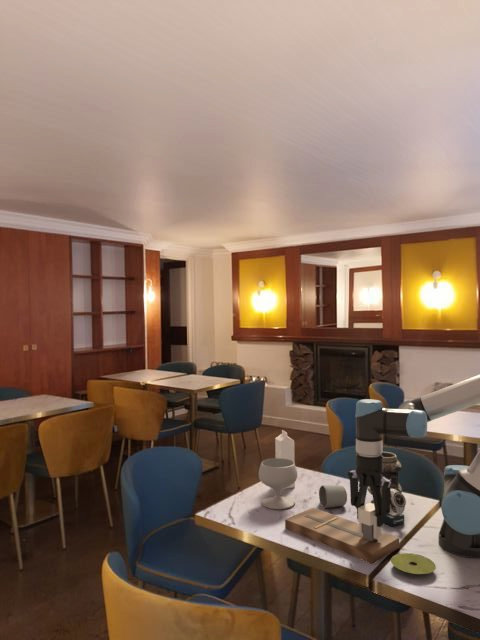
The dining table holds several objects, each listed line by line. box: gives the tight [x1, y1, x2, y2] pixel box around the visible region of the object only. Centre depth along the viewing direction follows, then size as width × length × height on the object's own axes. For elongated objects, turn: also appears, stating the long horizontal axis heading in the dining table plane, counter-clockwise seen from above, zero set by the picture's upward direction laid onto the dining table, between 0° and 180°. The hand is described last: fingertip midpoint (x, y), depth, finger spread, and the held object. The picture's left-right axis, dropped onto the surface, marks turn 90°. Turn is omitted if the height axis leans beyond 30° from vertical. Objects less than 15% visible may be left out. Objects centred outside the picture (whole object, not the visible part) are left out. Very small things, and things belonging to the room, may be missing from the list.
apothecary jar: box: [367, 451, 403, 510], centre depth 178 cm, size 12×12×18 cm
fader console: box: [284, 507, 400, 565], centre depth 151 cm, size 32×14×3 cm, turn 43°
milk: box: [274, 429, 296, 490], centre depth 198 cm, size 6×6×22 cm
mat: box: [390, 552, 436, 575], centre depth 131 cm, size 11×11×2 cm
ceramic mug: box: [318, 484, 348, 509], centre depth 178 cm, size 11×8×8 cm
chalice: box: [258, 457, 298, 510], centre depth 179 cm, size 14×14×15 cm
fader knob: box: [357, 502, 376, 541], centre depth 143 cm, size 4×6×9 cm, turn 133°
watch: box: [383, 489, 407, 529], centre depth 161 cm, size 6×8×11 cm
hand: (370, 534), depth 143 cm, fingers closed on fader knob, 4 cm apart
